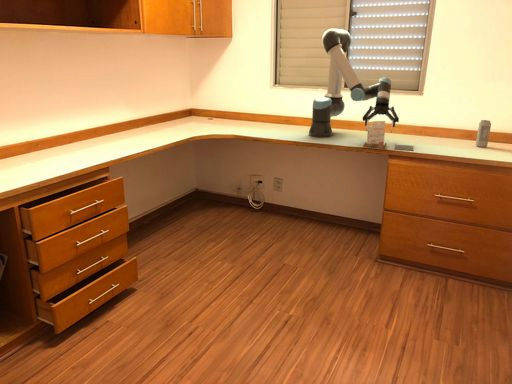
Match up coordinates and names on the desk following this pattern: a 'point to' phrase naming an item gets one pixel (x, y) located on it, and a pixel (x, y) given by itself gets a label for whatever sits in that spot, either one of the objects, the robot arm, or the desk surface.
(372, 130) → the ink cartridge box
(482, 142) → the grey tall block
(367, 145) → the holder
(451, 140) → the desk surface
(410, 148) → the mat
